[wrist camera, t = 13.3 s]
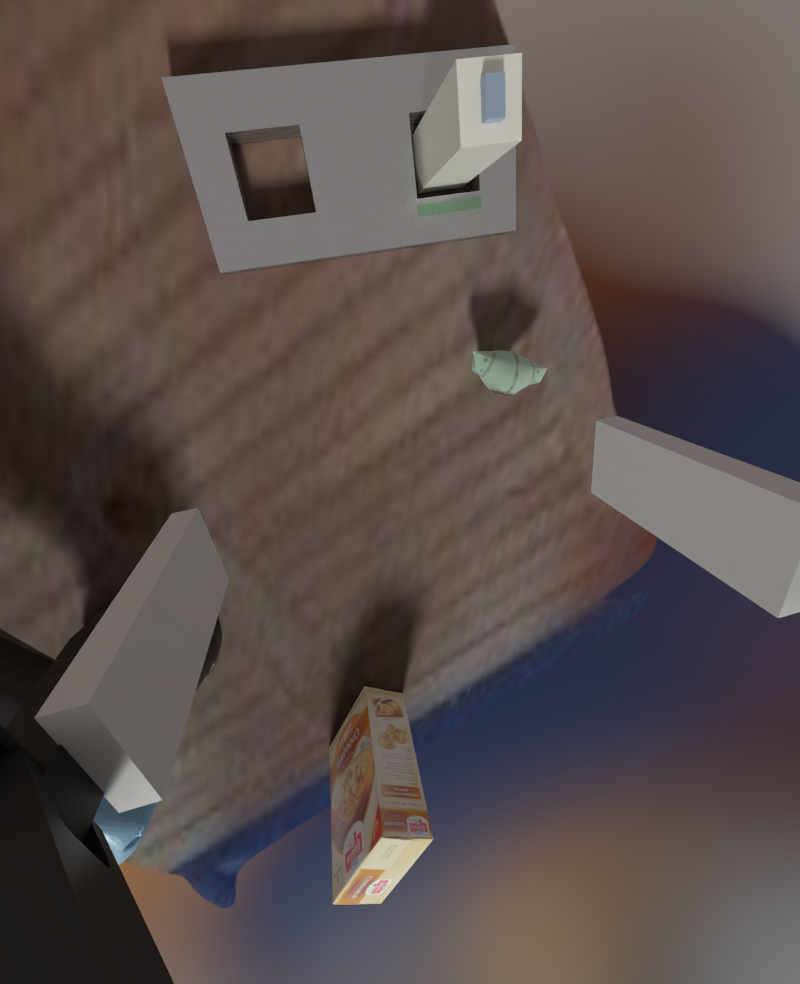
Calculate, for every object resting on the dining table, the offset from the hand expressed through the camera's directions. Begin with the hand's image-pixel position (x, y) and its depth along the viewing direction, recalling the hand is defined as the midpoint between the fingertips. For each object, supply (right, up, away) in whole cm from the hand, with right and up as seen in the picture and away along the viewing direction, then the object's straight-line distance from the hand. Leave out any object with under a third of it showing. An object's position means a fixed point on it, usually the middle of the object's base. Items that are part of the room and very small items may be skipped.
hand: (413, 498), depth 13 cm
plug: (+3, +29, +21) cm, 36 cm away
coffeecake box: (-6, -37, +51) cm, 63 cm away
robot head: (+9, +14, +30) cm, 34 cm away
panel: (-4, +27, +21) cm, 35 cm away
